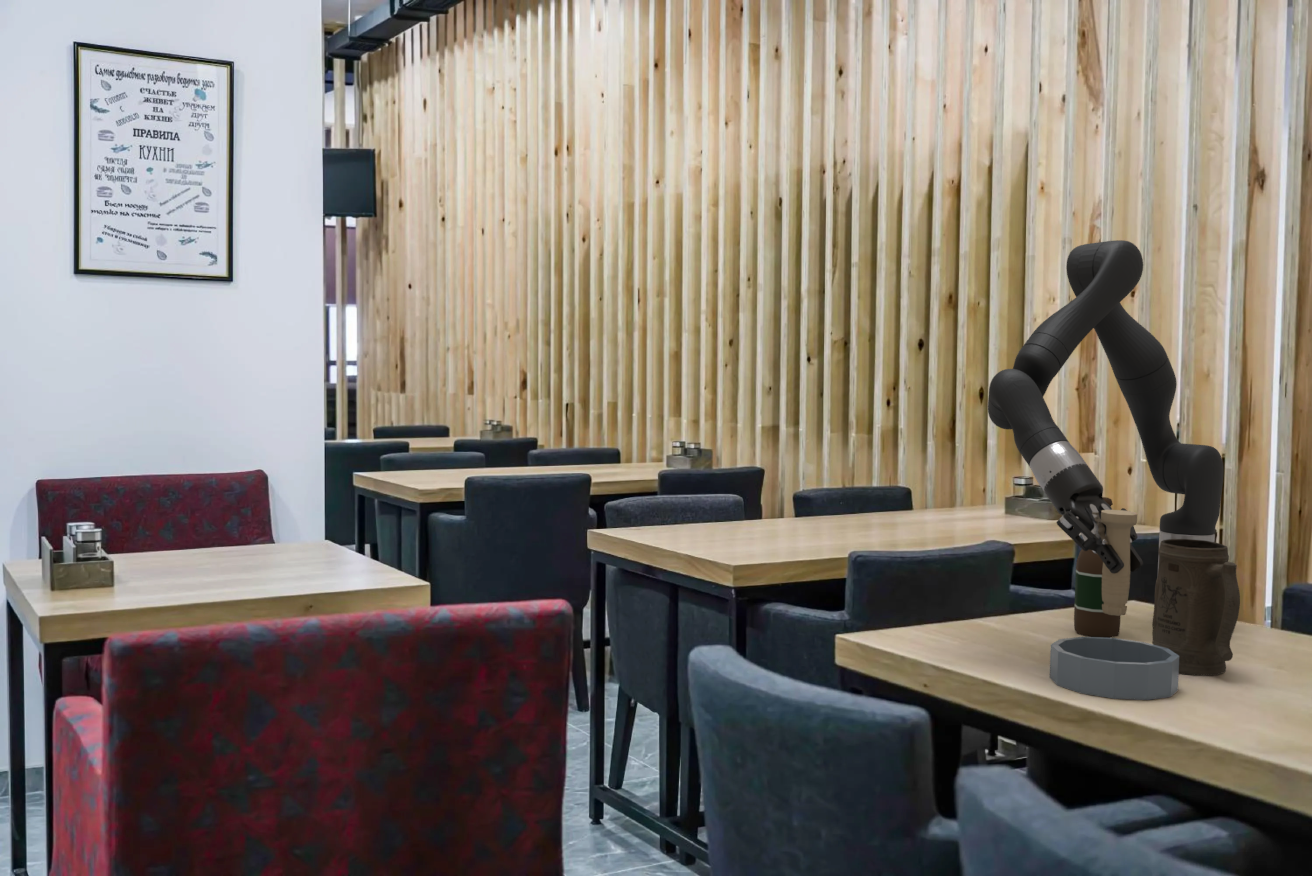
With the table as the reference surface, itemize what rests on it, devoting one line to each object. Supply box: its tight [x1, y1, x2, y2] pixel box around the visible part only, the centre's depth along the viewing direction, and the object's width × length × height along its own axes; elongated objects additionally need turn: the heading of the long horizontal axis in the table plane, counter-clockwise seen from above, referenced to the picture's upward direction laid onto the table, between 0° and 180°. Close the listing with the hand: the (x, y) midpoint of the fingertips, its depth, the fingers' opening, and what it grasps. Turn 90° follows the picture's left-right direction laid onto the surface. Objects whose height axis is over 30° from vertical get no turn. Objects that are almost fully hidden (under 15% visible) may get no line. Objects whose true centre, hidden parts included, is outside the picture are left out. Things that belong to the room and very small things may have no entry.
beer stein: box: [1151, 539, 1241, 676], centre depth 183 cm, size 15×11×20 cm
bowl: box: [1049, 636, 1180, 701], centre depth 174 cm, size 17×17×5 cm
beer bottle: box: [1073, 496, 1121, 638], centre depth 208 cm, size 8×8×24 cm
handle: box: [1101, 509, 1138, 617], centre depth 174 cm, size 5×6×15 cm
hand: (1128, 568), depth 172 cm, fingers closed on handle, 3 cm apart
